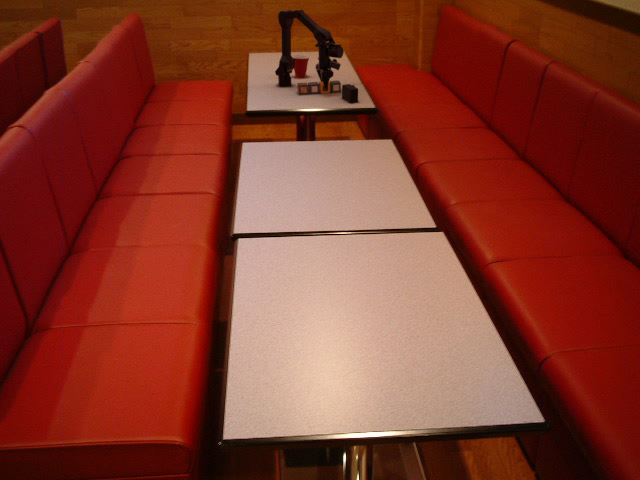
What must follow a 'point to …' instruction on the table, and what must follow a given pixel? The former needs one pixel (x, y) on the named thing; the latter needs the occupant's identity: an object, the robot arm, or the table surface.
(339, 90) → the green block
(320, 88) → the mustard block
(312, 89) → the slate block
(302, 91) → the walnut block
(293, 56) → the plastic cup
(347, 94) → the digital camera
